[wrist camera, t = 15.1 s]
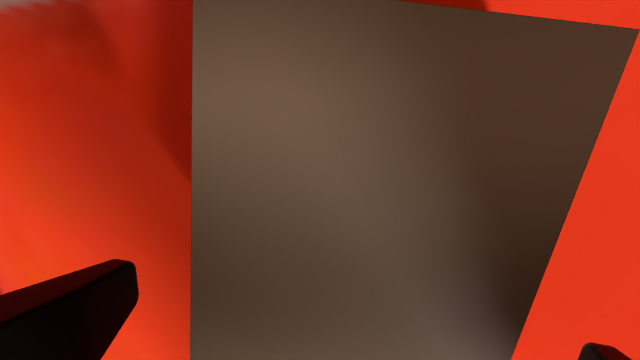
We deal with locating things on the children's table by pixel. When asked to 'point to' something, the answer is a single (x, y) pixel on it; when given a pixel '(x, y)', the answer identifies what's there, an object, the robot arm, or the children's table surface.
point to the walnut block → (383, 173)
